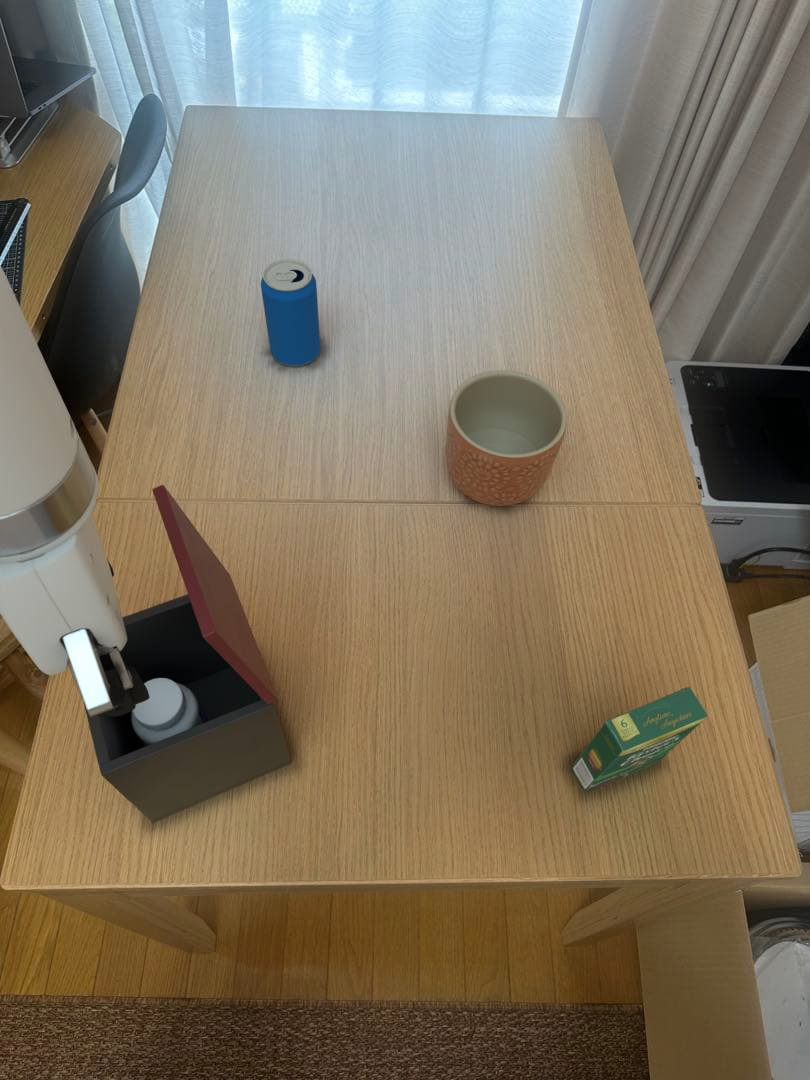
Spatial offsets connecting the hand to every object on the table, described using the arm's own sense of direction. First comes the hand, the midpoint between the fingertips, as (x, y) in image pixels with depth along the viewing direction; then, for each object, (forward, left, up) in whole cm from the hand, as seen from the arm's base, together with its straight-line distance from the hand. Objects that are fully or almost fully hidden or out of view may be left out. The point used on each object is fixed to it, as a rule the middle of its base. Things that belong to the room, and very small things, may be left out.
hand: (107, 640), depth 49 cm
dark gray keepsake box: (+2, 0, -22) cm, 22 cm away
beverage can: (+27, +44, -22) cm, 56 cm away
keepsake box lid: (+7, 0, 0) cm, 7 cm away
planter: (+41, +16, -22) cm, 50 cm away
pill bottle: (+1, 0, -21) cm, 21 cm away
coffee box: (+35, -18, -22) cm, 46 cm away
